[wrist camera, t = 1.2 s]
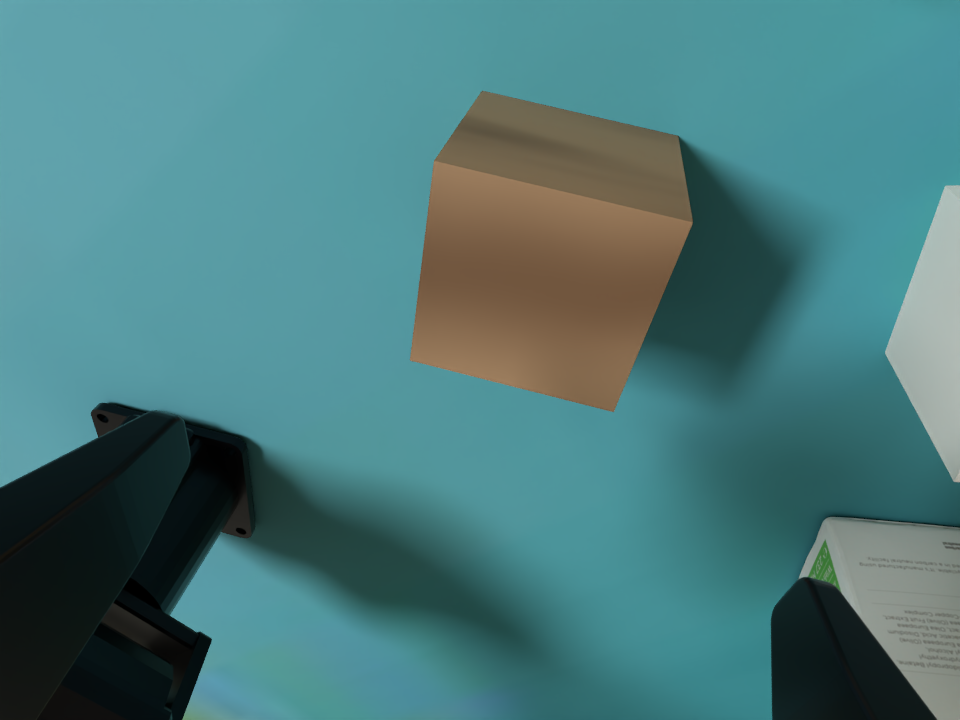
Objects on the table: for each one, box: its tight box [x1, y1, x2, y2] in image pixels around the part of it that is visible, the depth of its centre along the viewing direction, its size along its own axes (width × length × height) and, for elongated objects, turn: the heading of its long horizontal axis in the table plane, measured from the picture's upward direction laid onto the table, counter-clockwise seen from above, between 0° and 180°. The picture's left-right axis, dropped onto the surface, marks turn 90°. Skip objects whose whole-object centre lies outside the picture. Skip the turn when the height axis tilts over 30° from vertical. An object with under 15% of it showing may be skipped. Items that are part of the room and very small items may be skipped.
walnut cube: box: [410, 91, 693, 412], centre depth 15 cm, size 5×5×5 cm
